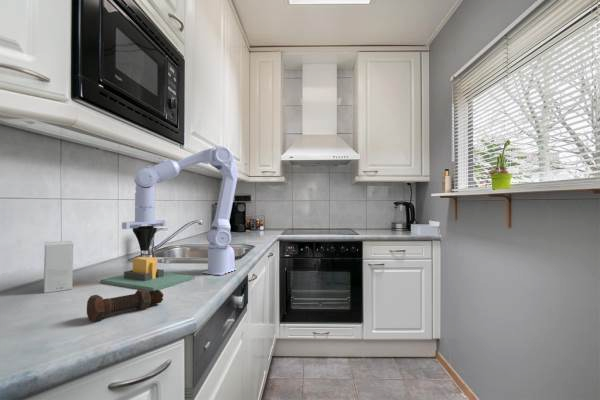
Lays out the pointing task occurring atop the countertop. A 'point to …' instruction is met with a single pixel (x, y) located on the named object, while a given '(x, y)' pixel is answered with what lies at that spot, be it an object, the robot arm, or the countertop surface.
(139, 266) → the yellow arched block
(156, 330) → the countertop surface
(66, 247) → the small box
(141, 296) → the bolt
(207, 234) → the robot arm
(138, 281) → the board
